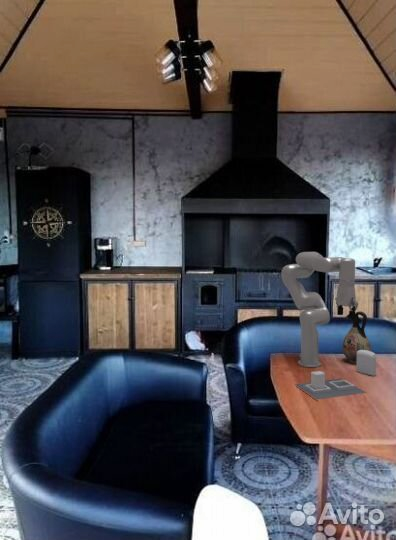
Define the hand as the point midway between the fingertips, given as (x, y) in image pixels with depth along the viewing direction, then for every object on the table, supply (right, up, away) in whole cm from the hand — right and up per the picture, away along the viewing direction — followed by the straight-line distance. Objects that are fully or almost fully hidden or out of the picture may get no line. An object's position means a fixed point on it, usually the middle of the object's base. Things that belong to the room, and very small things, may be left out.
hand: (346, 316), depth 218 cm
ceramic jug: (+17, -30, +31) cm, 46 cm away
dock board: (-12, -34, -12) cm, 38 cm away
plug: (-18, -33, -14) cm, 40 cm away
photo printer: (+14, -31, +12) cm, 36 cm away
